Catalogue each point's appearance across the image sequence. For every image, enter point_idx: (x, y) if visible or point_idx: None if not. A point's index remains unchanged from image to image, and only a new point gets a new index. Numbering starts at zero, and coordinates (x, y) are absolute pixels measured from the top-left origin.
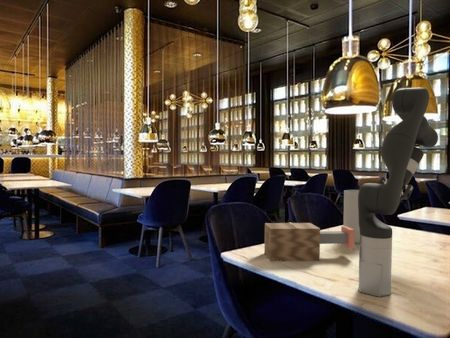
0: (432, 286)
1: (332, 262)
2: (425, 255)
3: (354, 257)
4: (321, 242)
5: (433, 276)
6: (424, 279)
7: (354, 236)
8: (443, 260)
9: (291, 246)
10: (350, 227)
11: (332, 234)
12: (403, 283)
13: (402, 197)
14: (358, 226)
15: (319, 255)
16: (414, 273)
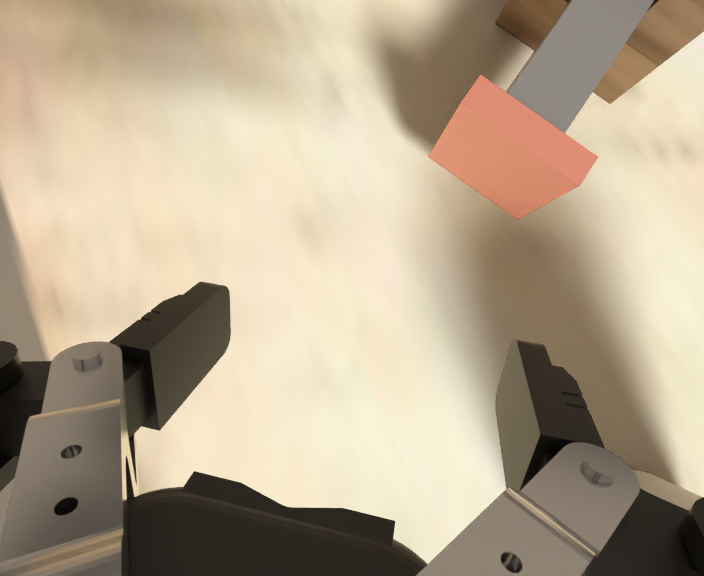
0: (15, 70)
1: (445, 48)
2: None
3: (429, 203)
4: (559, 15)
5: (54, 204)
6: (68, 132)
7: None
8: None
9: None
10: (692, 505)
11: (548, 35)
12: (109, 18)
13: (45, 364)
14: None
15: (506, 4)
16: (128, 181)
